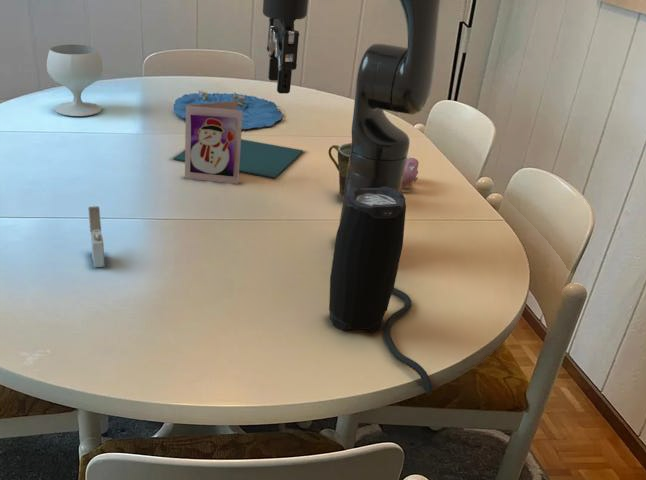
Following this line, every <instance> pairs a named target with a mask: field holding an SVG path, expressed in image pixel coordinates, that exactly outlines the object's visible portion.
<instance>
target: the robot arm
mask: <svg viewBox="0 0 646 480" xmlns="http://www.w3.org/2000/svg"><path fill="white" fill-rule="evenodd" d="M262 2H263V3H262V14H263V16H264V17H266V18H269V19H268V23H269V24H268V35H267V46H266V50H267V52H268V54H267V56H268V58H269V63H268V75H267V78H268V80H269V81H271V82H272V81H273V82H274V81H276V83H277V85H276V92H277V93H278V94H289V93H290V92H291V85H292V74H293V71H295V70H297V66H298V65H297V62H298V52H299V51H298V50H299V40H300V39H299V37H300V32H299V30H295V21H297V20H303V19H305V18H306V17H307V15H308V6H309V0H263V1H262ZM399 3H400V5H401V9H402V11H403V14H404V19H405V25H406V30H407V31H406V33H407V47H405V46H398V45H394V44H393V45H392V44H386V43H374V44H371V45H370V46H369V47H367V48H366V50H365V52H364V53H363V55H362V57H361V60H360V62H359V66H358V70H357V75H356V82H355V91H354V92H355V93H354V104H353V114H352V122H351V142H350V143H351V150H350V157H349V163H348V170H347V176H346V183H345V190H344V197H343V201H342V205H341V209H340V218H339V222H340V221H341V218H342V215H343V212H344V208H345V205H346V203H347V199H346V196H347V194H348V192H349V190H350V189H352V188H353V187H354V188H380V187H388V188H392V189H396V190H398V191H399V192H401V190H402V189H401V185H402V180H403V174H404V170H405V165H406V160H407V158H408V154H409V149H410V137H409V136H408V134H407V133H406V132H404V131H403V130H402V129H400V128H399V127H398V126H396V125H395V124H394V123H393V122H392V121H391V120H390V119H389V118H388V117H387V116H386V114H385V111H388V112H392V113H393V112H394V113H398V114H405V115H417V114H419V113H420V112H422V111H423V109H424V108H425V106H426V104H427V102H428V100H429V97H430V94H431V90H432V86H433V82H434V75H435V66H436V55H437V42H438V32H439V31H438V28H439V15H440V9H441V8H440V6H441V0H399ZM286 59H288V61H286ZM347 198H348V197H347ZM338 224H339V225H340V223H338ZM339 225H338V226H339ZM392 295H394V296H396V297H398V298H400V299H402V300H403V302H404V305H403V307H401V308H400V309H398V310H397V311H395V312H393V313H392V314H391V315H390V316H388V317H387V319H386V320H385V322H384V325H383V339H384V341H385V344H386V346H387V348H388V350H389V352H390V353H391V355H392V356H393V357H394V358H395V359H396V360H397V361H399V362H400V363H402V364H403V365H405V366H407V367H409V368H410V369H412V370H413V371H415V373H416V374H417V375H418V376H419V377H420V379H421V381H422V384H423V387H424V392H425V393H426V394H429V395H431V394H433V392H434V391H433V384H432V381H431V378H430V376H429V375H428V372H427V371H426V370H425V368H424V367H423V366H422V365H420V364H419V363H418V362H417V361H415V360H414V359H411V358H410V357H408V356H406V355H404V354H403V353H401V352H400V351H399V349H398V348H397V346H396V344H395V342H394V340H393V337H392V333H391V329H392V325H393V323H394V322H396V320H398V319H399V318H401V317H402V316H404V315H405V314H407V313H408V312H409V311H410V310H411V308H412V299H411V298H410V296H409V295H408V294H407V293H406V292H404V291H403V290H400V289H398V288H397V287H394V289H393V292H392Z"/></svg>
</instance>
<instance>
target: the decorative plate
mask: <svg viewBox="0 0 646 480" xmlns="http://www.w3.org/2000/svg"><path fill="white" fill-rule="evenodd" d="M231 101H237V110H241V111H243V113H242V130H250V129H252V128H253V129H255V128H259V129H260V128H266V127H272V126H273V125H275V123H277V122H278V121H280V120H282V119H283V115H282V114H283V113H282V111H281V110H278V106H277V104H276V102H274V101H271V100H267V99H265V98H260V97H257V96H254V95H247V94H242V93H241V94H239V93H237V92H236V91H234V92H233V93H226V92H225V93H219V92H213V93H208V92H205V91H203V90H198V93H194V92H193V93H188V94H186V93H185V94H183V95H181V97H178V98H176V100H174V103H173V111H174V113H175V114H176V115H177V116H179V117H180V118H182V119H186V105H196V104H208V103H219V102H231Z"/></svg>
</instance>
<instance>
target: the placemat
mask: <svg viewBox="0 0 646 480" xmlns="http://www.w3.org/2000/svg"><path fill="white" fill-rule="evenodd" d="M303 153H304V150H303V149H298V148H293V147H292V148H291V147H285V146H279V145H276V144H271V143H270V144H269V143H264V142H257V141H252V140H247V139H242V138H241V148H240V165H239V173H241V174H245V175H246V174H247V175H251V176H257V177H261V178H262V177H263V178H267V179H273V180H276V179H277V177H279V176H280V175H281V174H282V173H283V172H284V171H285V170H286V169H287V168H288V167H289V166H290V165H291V164H292V163H293V162H295V160H297V158H299V157H300V156H301V154H303ZM173 160H174V161H179V162H184V163H185V150H182V152H180V153H179V154H177V155H176V156H174V157H173Z"/></svg>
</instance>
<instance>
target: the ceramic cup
mask: <svg viewBox="0 0 646 480" xmlns="http://www.w3.org/2000/svg"><path fill="white" fill-rule="evenodd" d="M351 143H352V142H348V143H344V144H341V145H337V144H333V145H331V146H329V149H328V156H329V158H330V160H331V161H332V163H333V164H334V166H335V168H336V170H337V171H338V180H339V181H338V183H339V187H338V188H339V198H340V200H341V202H343V197H344V190H345V183H346V176H347V170H348V163H349V157H350V150H351ZM333 149H334V150H336V151H337V161H336V159H335V158H334V156H333V154H332V150H333Z"/></svg>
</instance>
